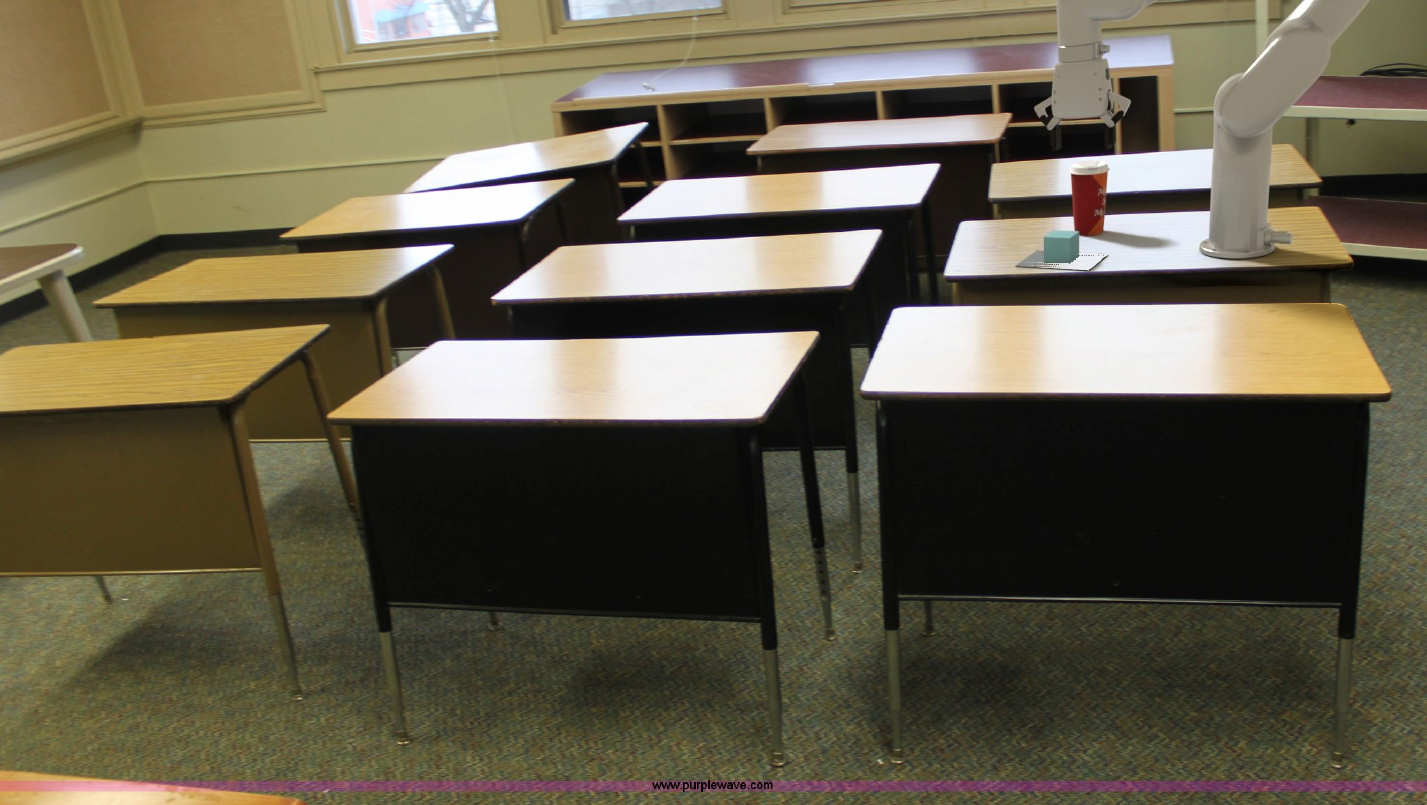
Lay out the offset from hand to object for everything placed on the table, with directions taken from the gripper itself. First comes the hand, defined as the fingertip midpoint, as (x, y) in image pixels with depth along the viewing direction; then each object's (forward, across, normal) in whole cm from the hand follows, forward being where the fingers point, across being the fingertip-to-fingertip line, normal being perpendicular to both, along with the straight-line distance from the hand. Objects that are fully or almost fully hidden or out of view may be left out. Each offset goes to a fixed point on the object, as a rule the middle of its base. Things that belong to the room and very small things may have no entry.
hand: (1082, 148), depth 210 cm
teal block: (+20, +3, +6) cm, 21 cm away
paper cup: (+20, +4, -16) cm, 26 cm away
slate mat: (+20, +3, +6) cm, 21 cm away
